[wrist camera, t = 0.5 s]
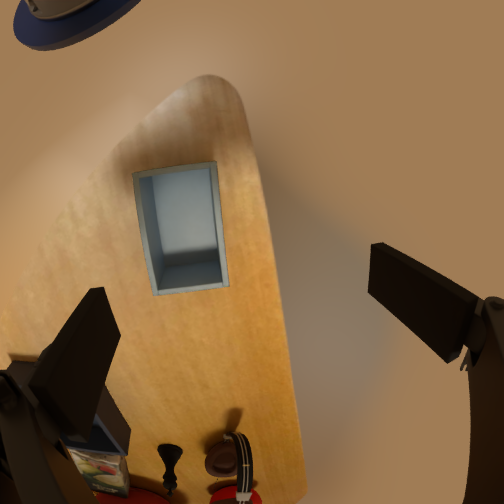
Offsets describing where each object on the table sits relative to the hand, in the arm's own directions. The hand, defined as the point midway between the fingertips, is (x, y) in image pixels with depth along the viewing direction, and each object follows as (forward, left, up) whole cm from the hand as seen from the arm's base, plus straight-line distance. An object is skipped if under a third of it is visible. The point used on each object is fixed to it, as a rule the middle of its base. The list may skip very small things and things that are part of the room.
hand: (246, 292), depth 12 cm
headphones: (+38, -5, -16) cm, 41 cm away
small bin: (-1, -3, -15) cm, 16 cm away
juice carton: (+41, -29, -16) cm, 53 cm away
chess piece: (+37, -14, -16) cm, 42 cm away
